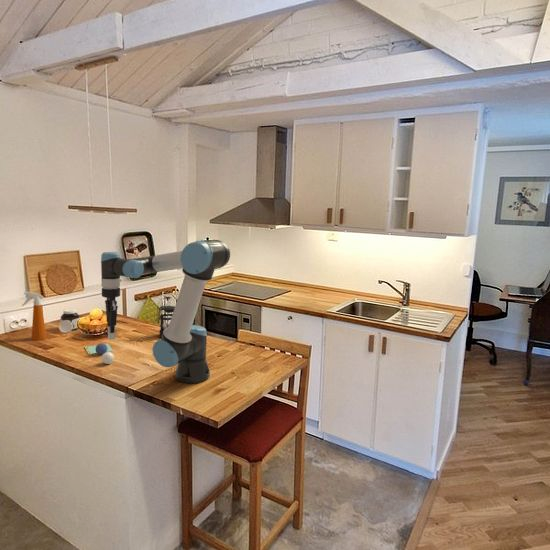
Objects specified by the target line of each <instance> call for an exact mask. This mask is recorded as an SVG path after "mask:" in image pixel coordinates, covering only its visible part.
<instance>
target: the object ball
mask: <svg viewBox="0 0 550 550" xmlns="http://www.w3.org/2000/svg"><path fill="white" fill-rule="evenodd" d="M106 344H107V343H102V342H101V343H98V344H97V346H96V352H97V354H98V355H103V354H104V353H106V352H107V345H106Z"/></svg>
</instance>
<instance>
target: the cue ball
mask: <svg viewBox="0 0 550 550" xmlns="http://www.w3.org/2000/svg"><path fill="white" fill-rule="evenodd" d="M114 360H115V355H114V354H113V353H112V351H110V352H106V353H104V354H101V361H102V363H103V364H105V365H109V364H112V363H113V362H114Z"/></svg>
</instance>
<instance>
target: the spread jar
mask: <svg viewBox="0 0 550 550" xmlns="http://www.w3.org/2000/svg"><path fill="white" fill-rule="evenodd" d="M79 319H80V320H81V317H80V314H79V313H77V309H76V308H67V309H63V314H61V316H60V324H59V325H58V329H59V331H60V332H61V333H64V334H68V333H70V332H74V331H76V330H79V328H78V327H77V321H78V320H79Z"/></svg>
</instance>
